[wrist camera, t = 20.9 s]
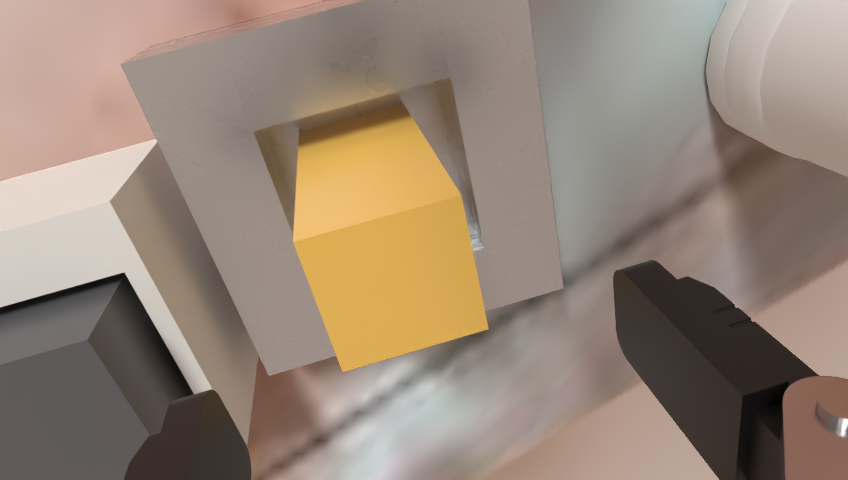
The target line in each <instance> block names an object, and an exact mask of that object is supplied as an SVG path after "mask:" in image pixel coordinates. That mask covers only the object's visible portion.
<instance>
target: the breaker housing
mask: <svg viewBox="0 0 848 480" xmlns="http://www.w3.org/2000/svg"><path fill="white" fill-rule="evenodd" d="M120 273H125V274H126V276H127V278H128V280H129V281H130V283H131V285H132V287H133V288H134V290H135V292H136V294H137V295H138V297H139V299H140V301H141V302H142V304H143V306H144V307H145V309H146V311H147V313H148V314H149V316H150V318H151V320H152V321H153V323H154V325H155V327H156V328H157V330H158V332H159V334H160V335H161V337H162V339H163V341H164V342H165V344H166V346H167V348H168V349H169V351H170V353H171V355H172V356H173V358H174V360H175V362H176V363H177V365H178V367H179V369H180V370H181V372H182V374H183V376H184V377H185V379H186V381H187V383H188V384H189V386H190V388H191V390H192V391H193V393H194V394H197V393H200V392H204V391H207V390H211V389H212V390H215V391H216V392H217V393H218V395H219V396H220V398H221V400H222V401H223V403H224V405H225V407H226V409H227V410H228V412H229V414H230V416H231V418H232V419H233V421H234V423H235V425H236V427H237V429H238V430H239V432H240V434H241V436H242V438H243V439H244V441H245V443H246V446H247V444H248V436H249V428H250V420H251V412H252V404H253V396H254V388H255V380H256V372H257V364H258V356H259V355H258V353H257V350H256V348H255V346H254V344H253V342H252V340H251V338H250V336H249V334H248V331H247V329H246V327H245V325H244V323H243V321H242V319H241V317H240V315H239V313H238V310H237V308H236V306H235V304H234V302H233V300H232V298H231V296H230V294H229V291H228V289H227V287H226V285H225V283H224V281H223V279H222V277H221V275H220V273H219V270H218V268H217V266H216V264H215V262H214V260H213V258H212V256H211V254H210V251H209V249H208V247H207V245H206V243H205V241H204V239H203V237H202V235H201V232H200V230H199V228H198V226H197V224H196V222H195V220H194V218H193V216H192V214H191V211H190V209H189V207H188V205H187V203H186V201H185V199H184V197H183V195H182V192H181V190H180V188H179V186H178V184H177V182H176V180H175V178H174V176H173V174H172V171H171V169H170V167H169V165H168V163H167V161H166V159H165V157H164V155H163V152H162V150H161V148H160V146H159V144H158V142H157V140H156V139H154V140H150V141H146V142H143V143H139V144H135V145H132V146H128V147H124V148H120V149H117V150H113V151H109V152H106V153H102V154H98V155H95V156H91V157H87V158H83V159H80V160H76V161H72V162H69V163H65V164H61V165H58V166H54V167H50V168H46V169H43V170H39V171H35V172H32V173H28V174H24V175H21V176H17V177H13V178H9V179H6V180H2V181H0V307H3V306H7V305H10V304H14V303H17V302H21V301H25V300H28V299H32V298H35V297H39V296H42V295H46V294H49V293H53V292H56V291H60V290H63V289H67V288H70V287H74V286H78V285H81V284H85V283H88V282H92V281H95V280H99V279H102V278H106V277H109V276H113V275H116V274H120ZM194 394H193V395H194Z"/></svg>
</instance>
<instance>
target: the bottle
mask: <svg viewBox="0 0 848 480" xmlns="http://www.w3.org/2000/svg"><path fill="white" fill-rule="evenodd" d="M706 77H707V83H708V89H709V95H710V101H711V103H712V104H713V106H714V107H715V109H716V110H717V112H718V113H719V115H720V116H721V118H722V120H723V121H724V123H726V124H727V125H729V126H731V127H733V128H734V129H736V130H738V131H740V132H741V133H743V134H745V135H747V136H749V137H752V138H754V139H755V140H757V141H759V142H761V143H762V144H764V145H766V146H768V147H770V148H772V149H774V150H776V151H778V152H780V153H783V154H785V155H788V156H791V157H794V158H798V159H805V160H807V161H810V162H812V163H814V164H817V165H819V166H822V167H824V168H826V169H829V170H831V171H834V172H836V173H838V174H841V175H843V176H846V177H848V0H728V1H727V3H726V6H725V8H724V10H723V12H722V14H721V16H720V18H719V20H718V23H717V25H716V27H715V29H714V31H713V33H712V35H711V41H710V47H709V53H708V59H707V65H706Z"/></svg>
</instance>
